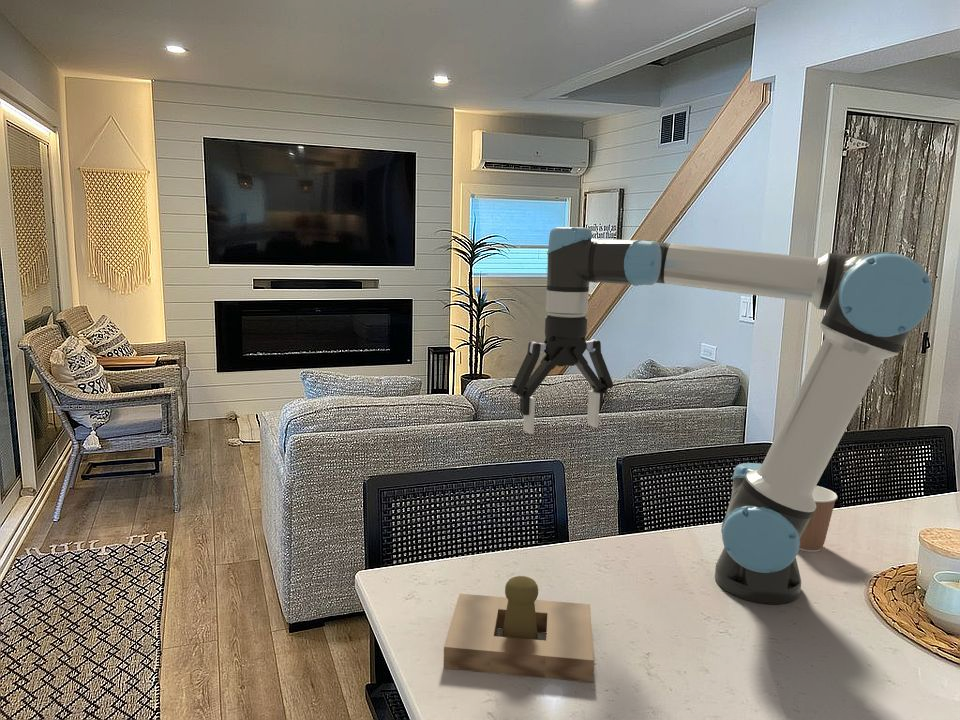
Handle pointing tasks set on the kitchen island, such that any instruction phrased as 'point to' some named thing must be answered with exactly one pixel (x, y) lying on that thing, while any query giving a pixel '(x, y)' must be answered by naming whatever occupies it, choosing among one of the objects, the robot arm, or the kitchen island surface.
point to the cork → (520, 608)
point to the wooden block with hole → (521, 640)
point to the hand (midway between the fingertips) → (561, 428)
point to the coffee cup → (818, 520)
